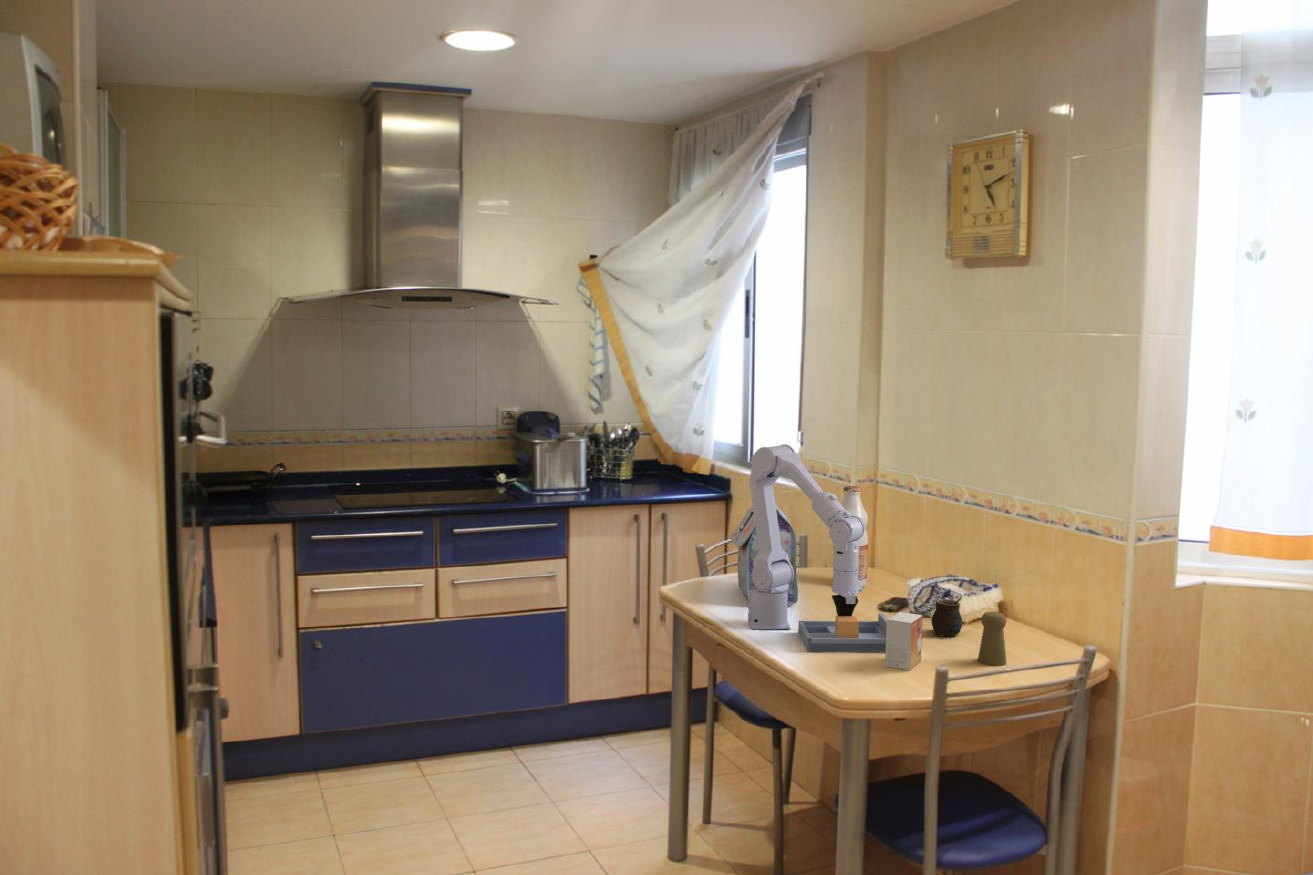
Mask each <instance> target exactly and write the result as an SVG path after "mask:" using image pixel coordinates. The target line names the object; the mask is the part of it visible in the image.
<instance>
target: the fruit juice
mask: <svg viewBox="0 0 1313 875" xmlns="http://www.w3.org/2000/svg"><path fill="white" fill-rule="evenodd" d="M843 493H844V495H843V499H842V502H841V503H840V504H841V505H842V506H843V507H844V509H845V510H846V511H849V513H850V514H851V515H853V516H857V517H859V518H860V520H861V521H862V523H863V525H864V534H863V536H862V537H861V538H860V539H859V562H858V587H862V588H864V587H866V585H867V582H868V578H867V577H868V549H869V548H868V547H869V536H868V531H867V527H868V522H869V516H868V515H869V514H868V513H867V511H866V510H865V508H864V505H863V502H862V498H861V494H862V487H860V486H856V485H845V486H843Z"/></svg>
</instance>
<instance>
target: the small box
mask: <svg viewBox="0 0 1313 875" xmlns="http://www.w3.org/2000/svg"><path fill="white" fill-rule="evenodd" d="M923 619H924V616H923V614H915V613H909V612H903V611H898V612H897V613H896V614H894V615H892V616H891V617H889V618H887V624H886V652H885V656H884V657H885V663H884V664H885V667H887V668H893V669H899V670H905V671H911V670H912V669H913V668H914V667H916V666H917V665H918V664H921V662H922V644H923V642H922V638H923Z"/></svg>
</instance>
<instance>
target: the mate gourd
mask: <svg viewBox="0 0 1313 875" xmlns="http://www.w3.org/2000/svg"><path fill="white" fill-rule="evenodd" d="M962 598H963V596H961V597H960V598H958V599H957V600H954V599H950V598H949V599H948V598H939V599H936V600H935V611H934V612H933V614H932V616H931V626H932V630H933V632H934V633H935V634H936V635H938V636H941V637H945V638H953V637H955V636H957V635H958V634H960V633H961V629H962V628H963V617H962V615H961V613H960V606H961V603H960V600H962Z"/></svg>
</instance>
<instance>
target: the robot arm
mask: <svg viewBox="0 0 1313 875" xmlns="http://www.w3.org/2000/svg"><path fill="white" fill-rule="evenodd" d="M750 461H751V470H750V476H749V488H750V493H751V494H750V495H751V502H752V505H753V510H754V518H755V525H756V532H757V539H758V547H759V553H758V554H757V556H756V557H755V559H754V561H753V564H754V569H753V573H752V580H753V583H754V585H755V586H756V588H757V589H755V590H750V591H749V603H748V612H747V621H748V624H749V626H750V629H752V630H791V625H790V624H789V621H788V605H787V598H788V588H789V584H790V583H791V582H792V580H793V578H794V570H793V567H792V565H791V564H790V561H789V556H788V554H787V553H786V552H785V551H784V550H783V549H782V548H781V541H780V534H779V526H778V519H777V512H776V505H777V504H776V498H775V491H774V484H775V483H776V482H777V480H778V479H779V478H781V477H783V478H784V477H785V478H789V479H790V480H791V481H792V482H793V483H794V484H795V485H796V486H797V487H798V488H799V489H800V490H801V491H802V492H803V493H804V494H805V495H806V496H807V497H808V498H809V500H810V501H811V509H812V510H813V512H814V513H815V514H816V515H817V516H818V517H819V518H820V520H821V521H822V522H823V523H824V525H826V527H827V528H828V534H829V538H830V539H831V542H832V548H833V556H832V557H833V561H832V563H833V564H832V565H833V566H832V586H831V592H832V593H835V594H833V595H831V599H832V601H833V603H834V606H835V609H836V610H835V611H836V616H853V615H854V614H853V613H854V611H855V608H856V606H858V603H859V598H858V596H857V595H858V594H859V593H862V592H864V587H858V562H859V539H860V538H861V537H862V536H863V534H864V525H863V523H862V521H861V520H860V518H859V517H857V516H853V515H851V514H850V513H849V511H846V510H845V509H844V507H843V506H842V505H841V504H842V503H840V502H839V501H838V496H837V495H836V494H835V493H833V494H832V493H831V492H829V491H824V490H823V489H822V488H821V487H820V485H819V484H818V482H817V481H816V480H815V479H814V477H813V476H812V474H811V473H810V472H809V470H808V469H807V468H806V467H805V465H804V464H803V462H802V459H801V455H800V454H799V453H797V452H796V451H795V449H794V448H793V447H792V446H791V445H790V444H786V443H785V444H780V445H773V446H762V447H760V448H758V449H757V450H756V451H755V452H754V454H753V455H752V456H751V457H750Z"/></svg>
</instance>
